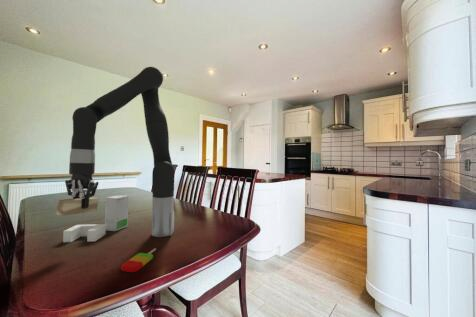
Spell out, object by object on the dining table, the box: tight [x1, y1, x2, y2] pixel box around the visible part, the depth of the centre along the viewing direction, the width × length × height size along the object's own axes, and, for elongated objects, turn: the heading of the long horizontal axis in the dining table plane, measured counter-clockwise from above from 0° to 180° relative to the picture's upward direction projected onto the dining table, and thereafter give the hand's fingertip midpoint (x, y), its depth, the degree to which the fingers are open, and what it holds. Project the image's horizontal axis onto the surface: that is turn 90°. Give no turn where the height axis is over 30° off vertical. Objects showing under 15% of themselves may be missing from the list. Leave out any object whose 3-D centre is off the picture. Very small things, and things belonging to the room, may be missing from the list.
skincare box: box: [104, 195, 129, 232], centre depth 99 cm, size 8×7×16 cm
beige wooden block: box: [55, 196, 99, 217], centre depth 74 cm, size 4×12×5 cm, turn 165°
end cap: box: [62, 223, 107, 243], centre depth 86 cm, size 12×8×4 cm, turn 97°
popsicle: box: [120, 248, 157, 273], centre depth 69 cm, size 6×15×2 cm, turn 170°
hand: (80, 207), depth 75 cm, fingers closed on beige wooden block, 3 cm apart
